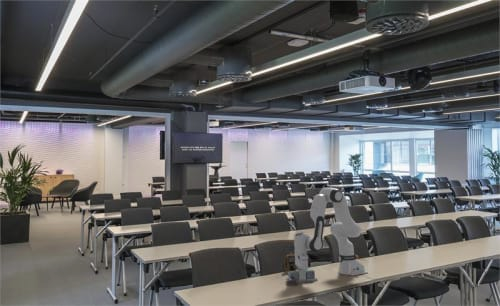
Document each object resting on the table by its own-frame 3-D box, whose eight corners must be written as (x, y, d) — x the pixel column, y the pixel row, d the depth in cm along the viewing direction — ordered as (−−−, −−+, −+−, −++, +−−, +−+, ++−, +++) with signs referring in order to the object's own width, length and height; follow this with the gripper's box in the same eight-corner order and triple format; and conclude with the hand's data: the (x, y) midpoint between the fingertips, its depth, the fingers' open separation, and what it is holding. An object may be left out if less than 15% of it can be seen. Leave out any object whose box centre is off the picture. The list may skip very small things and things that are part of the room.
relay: (296, 283, 282) (295, 278, 282) (296, 285, 278) (296, 279, 278) (287, 284, 282) (287, 278, 282) (288, 285, 278) (288, 279, 278)
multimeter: (286, 274, 307) (284, 249, 308) (282, 271, 317) (281, 246, 318) (303, 273, 310) (302, 247, 311) (299, 270, 320) (298, 245, 321)
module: (297, 278, 290) (297, 269, 291) (304, 278, 291) (303, 268, 292) (299, 280, 286) (299, 270, 286) (306, 279, 287) (305, 269, 287)
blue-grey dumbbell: (314, 278, 294) (313, 268, 294) (317, 280, 287) (317, 270, 288) (286, 280, 290) (285, 270, 290) (288, 283, 283) (288, 273, 283)
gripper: (292, 252, 299) (293, 270, 298) (300, 258, 279) (301, 277, 278) (300, 251, 300) (301, 270, 300) (309, 257, 280) (310, 276, 280)
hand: (301, 273), depth 289 cm, fingers open, 8 cm apart
